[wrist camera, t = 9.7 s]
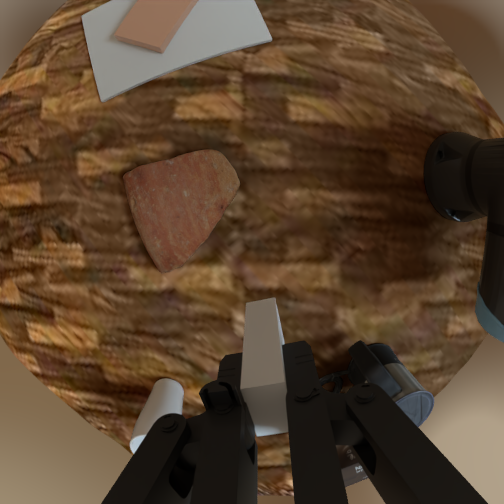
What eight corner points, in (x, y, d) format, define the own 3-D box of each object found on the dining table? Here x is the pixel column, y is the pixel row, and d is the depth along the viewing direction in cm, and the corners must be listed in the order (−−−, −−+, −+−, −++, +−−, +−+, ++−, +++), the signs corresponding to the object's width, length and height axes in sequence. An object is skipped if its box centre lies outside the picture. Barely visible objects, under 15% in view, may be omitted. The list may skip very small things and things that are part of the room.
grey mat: (233, -37, 34) (233, -40, 33) (271, 41, 38) (272, 39, 37) (83, 17, 34) (81, 15, 33) (103, 102, 38) (101, 101, 37)
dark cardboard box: (360, 387, 51) (396, 445, 35) (365, 409, 52) (397, 466, 37) (314, 406, 51) (338, 470, 35) (322, 427, 53) (344, 489, 37)
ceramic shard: (259, 246, 39) (154, 279, 41) (260, 229, 45) (167, 260, 47) (217, 132, 34) (109, 179, 36) (223, 131, 40) (128, 172, 42)
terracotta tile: (159, 47, 34) (202, -13, 32) (113, 34, 33) (156, -24, 31) (163, 54, 37) (203, -5, 35) (118, 41, 35) (159, -16, 33)
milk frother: (403, 354, 50) (444, 399, 36) (350, 416, 53) (376, 469, 38) (348, 322, 48) (388, 371, 33) (292, 393, 50) (310, 454, 36)
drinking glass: (160, 366, 47) (139, 427, 33) (195, 386, 49) (186, 450, 34) (143, 391, 48) (121, 451, 34) (177, 409, 50) (165, 471, 35)
